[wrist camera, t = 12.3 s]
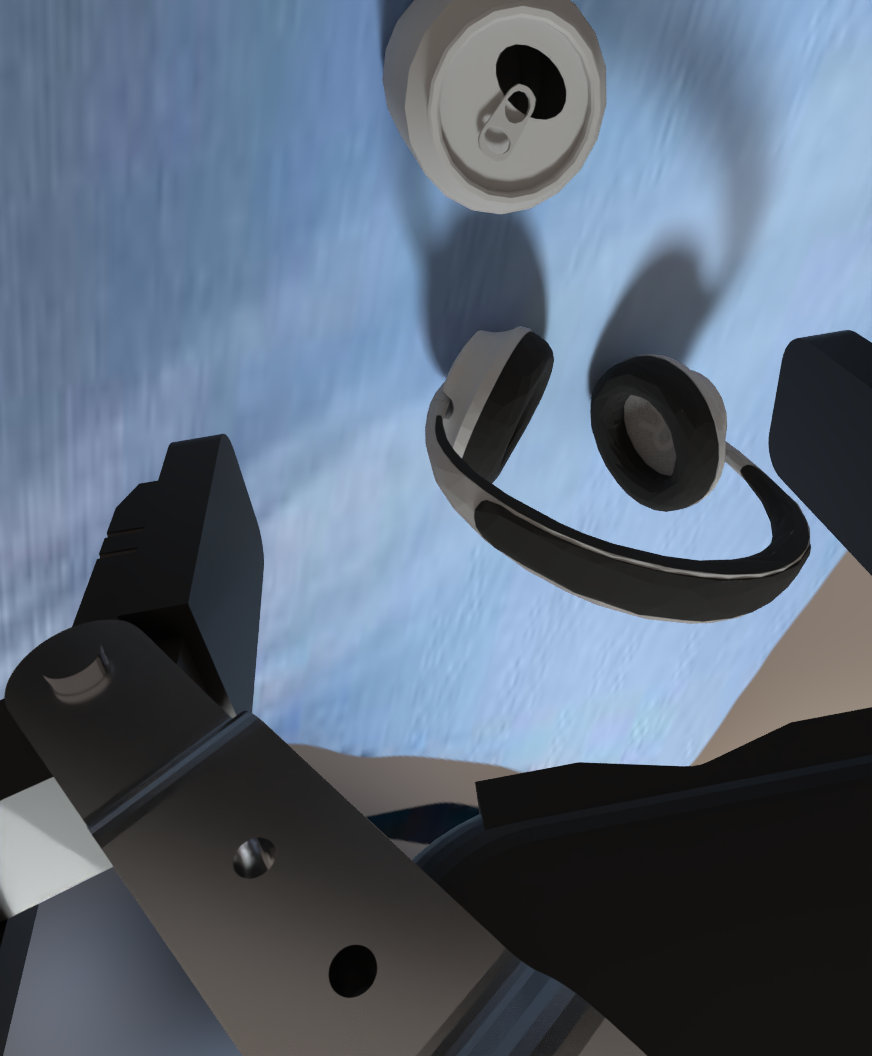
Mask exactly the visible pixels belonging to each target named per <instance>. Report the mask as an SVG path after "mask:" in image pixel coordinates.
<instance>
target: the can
mask: <svg viewBox="0 0 872 1056" xmlns="http://www.w3.org/2000/svg"><path fill="white" fill-rule="evenodd" d="M383 85H384V90H385V96H386V102H387V108H388V110H389V112H390V114H391V117H392V119H393V121H394V123H395V125H396V127H397V129H398V131H399V133H400V135H401V136H402V138H403V140H404V141H405V143H406V144H407V146H408V148H409V149H410V151H411V152H412V154H413V156H414V157H415V159H416V160H417V162H418V164H419V165H420V167H421V168H422V170H423V172H424V173H425V174H426V175H427V177H428V178H429V179H430V180H431V181H432V182H433V183H434V184H435V185H436V186H437V187H438V188H439V189H440V190H441V191H442V193H443V194H444V195H445V196H446V197H448V198H450V199H452V200H454V201H456V202H458V203H460V204H461V205H463V206H465V207H467V208H469V209H471V210H474V211H481V212H488V213H495V214H506V213H511V212H516V211H521V210H526V209H530V208H532V207H534V206H536V205H538V204H539V203H541V202H543V201H545V200H547V199H548V198H550V197H552V196H554V195H555V194H557V193H558V192H559V191H560V190H561V189H562V188H563V187H564V186H565V185H566V184H567V183H568V182H569V181H570V180H571V179H572V178H573V177H574V176H575V175H576V174H577V173H578V172H579V171H580V170H581V168H582V166H583V164H584V163H585V161H586V159H587V157H588V155H589V154H590V152H591V150H592V148H593V146H594V145H595V143H596V141H597V139H598V135H599V131H600V127H601V123H602V119H603V115H604V112H605V108H606V67H605V63H604V60H603V57H602V53H601V50H600V47H599V43H598V40H597V37H596V33H595V32H594V30H593V29H592V28H591V26H590V25H589V23H588V22H587V20H586V19H585V18H584V16H583V15H582V13H581V12H580V10H579V9H578V8H577V6H576V5H575V4H574V3H573V2H571V1H570V0H414V1H413V2H412V3H411V5H410V6H409V7H408V8H407V10H406V11H405V12H404V13H403V15H402V16H401V17H400V18H399V19H398V21H397V23H396V25H395V28H394V30H393V33H392V35H391V38H390V40H389V43H388V45H387V48H386V52H385V61H384V71H383Z"/></svg>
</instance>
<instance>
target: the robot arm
mask: <svg viewBox="0 0 872 1056" xmlns="http://www.w3.org/2000/svg"><path fill="white" fill-rule="evenodd" d="M769 453H770V458H771V462H772V465H773V467H774V469H775V471H776V473H777V475H778V476H779V477H780V478H781V479H782V480H783V482H784V483H785V484H786V485H787V486H788V487H789V488H790V489H791V490H792V491H793V492H794V493H795V494H796V495H797V496H798V498H799V499H800V500H801V501H802V502H803V503H804V504H805V505H806V506H807V507H808V508H809V509H810V510H811V511H812V513H813V514H814V515H815V516H816V517H817V518H818V519H819V520H820V521H821V522H822V523H823V524H824V525H825V526H826V527H827V529H828V530H829V531H830V532H831V533H832V534H833V535H834V536H835V537H836V538H837V539H838V540H839V541H840V542H841V543H842V545H843V546H844V547H845V548H846V549H847V550H848V551H849V552H850V553H851V554H852V555H853V556H854V557H855V558H856V559H857V561H858V562H859V563H860V564H861V565H862V566H863V567H864V568H865V569H866V570H867V571H868V572H869V573H870V574H871V575H872V343H871V342H870V341H868V340H867V339H865V338H864V337H862V336H860V335H859V334H857V333H856V332H854V331H851V330H844V331H838V332H832V333H826V334H820V335H814V336H808V337H802V338H797V339H794V340H792V341H791V342H790V343H789V344H788V346H787V347H786V349H785V352H784V354H783V358H782V364H781V369H780V375H779V381H778V386H777V392H776V398H775V404H774V409H773V415H772V421H771V427H770V432H769ZM107 535H108V538H105V539H104V542H103V545H102V547H101V550H100V553H99V555H100V559H97V561H96V564H95V566H94V569H93V572H92V574H91V577H90V580H89V582H88V585H87V588H86V591H85V593H84V596H83V599H82V601H81V604H80V607H79V610H78V612H77V615H76V618H75V620H74V623H73V626H72V627H71V628H69V629H66V630H64V631H62V632H60V633H58V634H56V635H54V636H52V637H50V638H49V639H47V640H46V641H44V642H43V643H41V644H40V645H39V646H37V647H36V648H35V649H34V650H32V651H31V652H30V653H29V654H28V655H27V656H26V657H25V658H24V659H23V660H22V661H21V662H20V663H19V665H18V666H17V667H16V668H15V670H14V671H13V673H12V675H11V676H10V678H9V680H8V683H7V686H6V689H5V696H4V697H5V698H4V699H2V700H0V1056H3V1053H4V1049H5V1045H6V1041H7V1037H8V1032H9V1028H10V1024H11V1020H12V1015H13V1011H14V1007H15V1003H16V998H17V994H18V990H19V985H20V981H21V977H22V972H23V968H24V964H25V960H26V956H27V951H28V947H29V943H30V939H31V935H32V930H33V926H34V921H35V918H36V913H37V909H38V905H39V903H41V902H43V901H44V900H47V899H48V898H50V897H53V896H54V895H57V894H58V893H61V892H63V891H65V890H67V889H69V888H71V887H73V886H75V885H77V884H79V883H81V882H83V881H85V880H87V879H89V878H91V877H93V876H95V875H97V874H99V873H101V872H103V871H105V870H107V869H109V868H111V867H114V868H115V870H116V871H117V873H118V874H119V875H120V877H121V878H122V880H123V881H124V883H125V884H126V886H127V887H128V889H129V890H130V892H131V893H132V894H133V896H134V897H135V899H136V900H137V902H138V903H139V905H140V906H141V908H142V909H143V911H144V912H145V914H146V915H147V916H148V918H149V919H150V921H151V922H152V924H153V925H154V927H155V928H156V930H157V931H158V932H159V934H160V936H161V937H162V939H163V940H164V941H165V943H166V944H167V946H168V947H169V949H170V950H171V952H172V953H173V955H174V956H175V958H176V959H177V960H178V962H179V963H180V965H181V966H182V967H183V969H184V971H185V972H186V974H187V975H188V977H189V978H190V979H191V981H192V982H193V984H194V985H195V987H196V988H197V990H198V991H199V993H200V994H201V996H202V997H203V998H204V1000H205V1001H206V1003H207V1004H208V1006H209V1007H210V1009H211V1010H212V1012H213V1013H214V1015H215V1016H216V1018H217V1019H218V1020H219V1022H220V1023H221V1025H222V1026H223V1028H224V1029H225V1031H226V1032H227V1034H228V1035H229V1037H230V1038H231V1039H232V1041H233V1042H234V1044H235V1045H236V1047H237V1048H238V1050H239V1051H240V1053H241V1054H242V1056H872V707H871V708H866V709H861V710H855V711H851V712H844V713H839V714H834V715H828V716H823V717H818V718H813V719H807V720H802V721H797V722H791V723H789V724H787V725H785V726H783V727H781V728H779V729H776V730H774V731H772V732H770V733H768V734H766V735H764V736H762V737H760V738H757V739H755V740H754V741H751V742H749V743H747V744H745V745H743V746H741V747H739V748H736V749H734V750H732V751H730V752H728V753H726V754H724V755H722V756H720V757H717V758H715V759H713V760H711V761H709V762H707V763H704V764H702V765H697V766H659V765H633V764H607V763H581V762H579V763H573V764H568V765H563V766H557V767H552V768H547V769H541V770H536V771H531V772H526V773H520V774H515V775H510V776H504V777H499V778H494V779H488V780H483V781H478V782H475V785H476V792H477V799H478V806H479V813H480V815H478V816H476V817H474V818H472V819H470V820H468V821H466V822H464V823H462V824H460V825H458V826H456V827H455V828H453V829H452V830H450V831H448V832H447V833H445V834H444V835H442V836H441V837H439V838H437V839H436V840H435V841H434V842H432V843H431V844H430V845H429V846H427V847H426V848H425V849H424V850H422V852H420V853H419V854H418V855H417V856H415V857H414V858H413V859H412V860H411V859H410V858H409V857H408V856H407V855H406V854H405V853H404V852H402V851H401V850H400V849H399V848H398V847H397V846H396V845H395V844H394V843H393V842H392V841H391V840H390V839H389V838H387V837H386V836H385V835H384V834H383V833H382V832H381V831H380V830H379V829H378V828H377V827H376V826H375V825H374V824H372V823H371V822H370V821H369V820H368V819H367V818H366V817H365V816H364V815H363V814H362V813H360V811H358V810H357V809H356V808H355V807H354V806H353V805H352V804H351V803H350V802H349V801H348V800H347V799H346V798H344V797H343V796H342V795H341V794H340V793H339V792H338V791H337V790H336V789H335V788H334V787H333V786H332V785H331V784H330V783H328V782H327V781H326V780H325V779H324V778H323V777H322V776H321V775H320V774H318V772H317V771H316V770H314V769H313V768H312V767H311V766H310V765H309V764H308V763H307V762H306V761H305V760H304V759H303V758H302V757H301V756H299V755H298V754H297V753H296V752H295V751H294V750H293V749H292V748H291V747H290V746H289V745H288V744H287V743H286V742H284V741H283V740H282V739H281V738H280V737H279V736H278V735H277V734H276V733H275V732H274V731H273V730H272V729H270V728H269V727H268V726H267V725H266V724H265V723H264V722H263V721H262V720H261V719H259V718H258V717H257V716H255V715H254V714H252V706H253V694H254V681H255V669H256V657H257V644H258V632H259V620H260V607H261V595H262V583H263V570H264V554H263V546H262V540H261V535H260V530H259V526H258V523H257V520H256V517H255V513H254V510H253V507H252V504H251V501H250V498H249V495H248V492H247V489H246V486H245V483H244V480H243V477H242V474H241V470H240V467H239V464H238V461H237V458H236V455H235V452H234V449H233V446H232V444H231V442H230V440H229V438H228V437H227V435H226V434H220V435H214V436H208V437H202V438H196V439H190V440H184V441H178V442H172V443H171V444H170V445H169V447H168V450H167V453H166V457H165V460H164V463H163V466H162V470H161V473H160V476H159V480H158V481H153V482H147V483H141V484H139V485H138V486H137V487H136V488H135V489H134V490H133V491H132V492H131V493H130V494H129V495H128V496H127V497H126V498H125V499H124V500H123V501H122V502H121V503H120V504H119V505H118V506H117V507H116V509H115V512H114V515H113V517H112V520H111V523H110V526H109V528H108V531H107Z"/></svg>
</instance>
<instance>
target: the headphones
mask: <svg viewBox="0 0 872 1056" xmlns="http://www.w3.org/2000/svg"><path fill="white" fill-rule="evenodd" d="M553 362H554V357H553V351H552V349H551V348H550V346H549V344H548V343H547V342H546V341H545V340H544V339H542V338H541V337H540V336H538V335H537V334H535V333H534V332H533V330H531V329H528V328H525V327H522V326H519V327H516V328H514V329H512V330H509V331H503V332H489V331H483V330H479V331H477V332H476V333H475V334H474V335H473V336H472V337H471V339H470V340H469V341H468V342H467V343H466V344H465V346H464V347H463V349H462V350H461V352H460V353H459V355H458V356H457V358H456V359H455V361H454V363H453V365H452V367H451V369H450V371H449V373H448V375H447V378H446V380H445V382H444V383H443V384H442V385H441V387H440V388H439V389H438V390H437V392H436V393H435V395H434V397H433V399H432V401H431V403H430V407H429V410H428V414H427V420H426V427H425V437H426V447H427V451H428V455H429V459H430V463H431V466H432V470H433V474H434V477H435V480H436V483H437V484H438V486H439V487H440V489H441V490H442V492H443V493H444V495H445V496H446V498H447V499H448V501H449V502H450V504H451V505H452V507H453V508H454V509H455V510H456V511H457V512H458V513H459V514H460V515H461V516H462V517H463V518H464V519H465V521H467V523H468V524H469V525H470V526H471V527H472V528H473V529H474V530H475V531H476V532H477V533H478V534H479V535H480V536H481V537H482V538H483V539H484V540H485V541H487V542H488V543H489V544H491V545H492V546H493V547H494V548H496V549H497V550H499V551H500V552H502V553H503V554H505V555H506V556H508V557H509V558H510V559H512V560H513V561H515V562H516V563H517V564H519V565H520V566H522V567H523V568H524V569H526V570H527V571H529V572H531V573H533V574H535V575H537V576H538V577H540V578H542V579H544V580H546V581H548V582H550V583H551V584H553V585H555V586H557V587H559V588H561V589H562V590H564V591H566V592H568V593H570V594H573V595H575V596H577V597H580V598H582V599H584V600H587V601H589V602H591V603H594V604H596V605H599V606H602V607H606V608H609V609H613V610H616V611H620V612H624V613H627V614H631V615H634V616H638V617H641V618H645V619H651V620H661V621H670V622H680V623H690V624H691V623H714V622H718V621H723V620H728V619H733V618H738V617H741V616H743V615H745V614H748V613H751V612H754V611H755V610H757V609H759V608H761V607H763V606H765V605H766V604H768V603H770V602H771V601H773V600H774V599H775V598H776V597H777V596H778V595H779V594H781V593H782V592H783V591H784V590H785V589H786V588H787V587H788V586H789V585H790V584H791V582H792V581H793V580H794V579H795V577H796V576H797V575H798V573H799V572H800V570H801V568H802V567H803V565H804V563H805V562H806V560H807V558H808V557H809V555H810V550H811V545H810V528H809V525H808V523H807V520H806V518H805V516H804V514H803V513H802V511H801V509H800V507H799V505H798V504H797V503H796V502H795V501H794V500H793V499H792V498H791V497H790V496H788V495H787V494H786V493H785V492H784V491H783V490H782V489H781V488H780V487H779V486H778V485H777V484H776V483H775V482H774V481H773V480H772V479H771V478H769V477H768V476H767V475H766V474H765V473H764V472H763V471H762V470H761V469H760V468H758V467H757V466H756V465H755V464H754V463H753V462H751V461H750V460H749V459H748V458H747V457H745V456H744V455H743V454H742V453H741V452H740V451H738V450H737V449H736V448H734V447H733V446H732V445H730V444H729V443H727V442H726V441H725V437H726V430H727V416H726V410H725V407H724V403H723V400H722V397H721V396H720V394H719V392H718V391H717V389H716V387H715V386H714V385H713V384H712V383H711V382H710V380H709V379H708V378H706V377H705V376H703V375H702V374H700V373H698V372H695V371H692V370H690V369H689V368H688V367H686V366H685V365H683V364H682V363H680V362H679V361H677V360H675V359H672V358H670V357H668V356H664V355H659V354H644V355H635V356H633V357H630V358H627V359H625V360H624V361H622V362H621V363H619V364H617V365H615V366H613V367H612V368H610V369H609V370H608V371H607V372H606V373H605V374H604V375H603V376H602V377H601V378H600V379H599V382H598V384H597V386H596V388H595V390H594V392H593V394H592V399H591V427H592V431H593V434H594V437H595V440H596V444H597V447H598V450H599V452H600V454H601V457H602V459H603V461H604V463H605V465H606V467H607V468H608V470H609V471H610V473H611V474H612V476H613V477H614V479H615V480H616V481H617V483H618V484H619V485H620V486H621V487H622V489H623V490H624V491H625V492H626V493H627V494H628V495H629V496H631V497H632V498H633V499H634V500H636V501H637V502H638V503H640V504H642V505H644V506H646V507H649V508H651V509H653V510H658V511H665V512H667V511H674V510H679V509H683V508H687V507H689V506H692V505H694V504H696V503H698V502H700V501H701V500H702V499H703V498H705V497H706V496H707V495H708V494H709V493H710V492H711V491H712V490H713V489H714V488H715V486H716V484H717V482H718V481H719V479H720V477H721V474H722V470H723V467H724V463H725V462H726V463H727V464H728V465H730V466H731V467H732V468H733V469H734V470H735V471H736V472H737V473H738V474H739V475H740V476H741V477H742V478H744V479H745V480H746V482H747V483H748V484H749V486H750V487H751V488H752V490H753V491H754V492H755V494H756V495H757V496H758V498H759V499H760V500H761V502H762V504H763V506H764V508H765V510H766V513H767V515H768V517H769V519H770V522H771V529H772V536H773V537H772V541H771V544H770V545H769V546H768V547H767V548H766V549H765V550H763V551H762V552H760V553H757V554H755V555H752V556H749V557H745V558H739V559H733V560H703V561H698V560H690V559H683V558H675V557H667V556H662V555H658V554H654V553H649V552H645V551H641V550H637V549H633V548H629V547H625V546H620V545H616V544H612V543H609V542H607V541H604V540H601V539H598V538H595V537H592V536H589V535H586V534H584V533H581V532H579V531H577V530H574V529H572V528H570V527H568V526H565V525H563V524H561V523H559V522H557V521H555V520H553V519H551V518H550V517H548V516H546V515H544V514H542V513H540V512H539V511H537V510H535V509H533V508H531V507H529V506H527V505H526V504H524V503H522V502H520V501H518V500H516V499H514V498H513V497H511V496H509V495H507V494H506V493H504V492H503V491H502V490H500V489H499V488H497V487H496V486H494V485H493V484H492V483H493V482H494V481H495V480H496V478H497V477H498V476H499V474H500V473H501V471H502V469H503V467H504V466H505V464H506V462H507V460H508V459H509V457H510V455H511V453H512V452H513V450H514V448H515V446H516V445H517V443H518V441H519V439H520V438H521V436H522V434H523V433H524V431H525V429H526V427H527V425H528V423H529V422H530V420H531V418H532V416H533V414H534V412H535V410H536V408H537V406H538V404H539V402H540V400H541V398H542V396H543V393H544V391H545V389H546V386H547V384H548V381H549V378H550V375H551V372H552V368H553Z"/></svg>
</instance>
